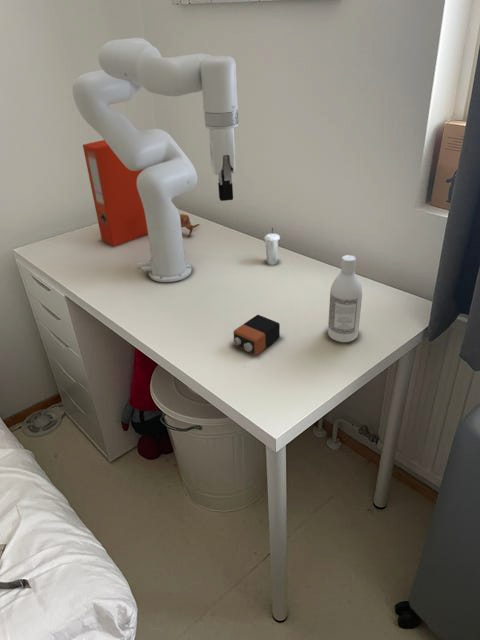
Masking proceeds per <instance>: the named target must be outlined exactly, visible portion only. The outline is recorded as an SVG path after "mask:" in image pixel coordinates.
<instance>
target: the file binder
mask: <svg viewBox="0 0 480 640" xmlns="http://www.w3.org/2000/svg"><path fill="white" fill-rule="evenodd" d="M82 148H83V153H84V159H85V163H86V168H87V174H88V178H89V183H90V188H91V193H92V198H93V203H94V209H95V214H96V218H97V224H98V227H99V228H98V229H99V233H100V238H101V241H102V242H104V243H106V244H108V245H110V246H112V247H117V246H118V245H122V244H124V243H127V242H131V241H132V240H135V239H138V238H142V237H144V236H147V235H148V230H147V224H146V217H145V212H144V208H143V204H142V201H141V198H140V195H139V192H138V189H137V177H138V175H139V174H140V173H141V172H142V171H143V170H144V169H143V170H139V171H131V170H129V169H128V168H127V167H126V166H125V165H124V164H123V163H122V162H121V161H120V159H119V158H118V157H117V156H116V154H115V153H114V152H113V150H112V149H111V148H110V147H109V145H108V144H107V143H106V141H105V140H104V139H102V140H97V141H93V142H88V143H83V144H82Z"/></svg>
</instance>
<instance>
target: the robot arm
mask: <svg viewBox="0 0 480 640" xmlns="http://www.w3.org/2000/svg"><path fill="white" fill-rule="evenodd" d="M97 58H98V64H99V67H100V68H101V69H100V70H99V69H98V70H93V71H89V72H85V73H83V74H81V75H79V76H78V77H77V78H76V79H75V80H74V81H73V83H72V96H73V100H74V103H75V106H76V109H77V110H78V112H79V114H80V116H81V117H82V118H83V120H84V121H85V122H86V123H87V124H88V125H89V126H90V127H91V128H92V129H93V130H94V131H95V132H96V133H98V134H99V136H100V137H101V138H102V140H105V141H106V143H107V144H108V145H109V147H110V148H111V149H112V150H113V152H114V153H115V154H116V156H117V157H118V158H119V159H120V161H121V162H122V163H123V164H124V165H125V166H126V167H127V168H128V169H129V170H131V171H139V170H143V169H144V170H143V171H142V172H141V173H140V174H139V175H138V177H137V189H138V192H139V195H140V198H141V201H142V204H143V208H144V212H145V217H146V224H147V230H148V234H147V235H148V242H149V243H148V244H149V248H150V254H151V256H150V259H148V260H147V261H138V262H137V263H136V265H137V269H138V270H141V272H147V271H148V277H149V278H150V279H151V280H153V281H155V282H159V283H173V282H179V281H182V280H184V279H186V278H188V277H189V276H190V275H191V274H192V266H191V264H190V263H188V262H187V261H186V257H185V248H184V247H185V246H184V238H183V229H182V228H183V227H182V228H181V220H180V214H181V213H180V212H179V210H178V208H177V207H176V206H175V204H174V202H173V200H172V199H175V198H176V197H179V196H180V195H183V194H186V193H188V192H190V191H192V190H193V189H194V188H195V187H196V186H197V183H198V173H197V170H196V168H195V166H194V164H193V163H192V161H191V160H190V159H189V157H188V156H187V155H186V153H185V152H184V151H183V150H182V149H181V148H180V146H179V145H178V144H177V142H176V141H175V140H174V138H172V136H171V135H170V134H169V133H168V132H167V131H165V130H163V129H161V128H148V129H145V130H138V129H137V128H136V127H134V125H133V124H132V123H131V121H130V119H128V118H127V117H126V116H125V114H122V113H121V112H120V111H117V110H116V109H114V108H113V107H110V105H115V104H119V103H125V102H128V101H131V100H133V99H135V97H136V96H137V95H138V94H139V93H140V91H141V90H142V88H144V89H145V91H147V92H149V93H151V94H156V95H161V96H165V97H180V96H185V95H189V94H194V93H199V92H202V104H203V105H202V106H203V114H204V115H203V120H204V127H205V129H208V130H209V135H208V136H209V152H210V153H209V154H210V166H211V170H212V172H213V174H214V175H215V176H218V177H217V178H218V182H217V186H218V199H219V201H220V202H227V201H233V200H234V187H233V179H232V178H233V175H232V174H234V173H236V145H235V143H236V142H235V128H237V127H239V124H240V123H239V103H238V79H237V63H236V60H235V58H234V57H233V56H230V55H211V54H207V53H193V54H185V55H177V56H171V57H162V54H161V52H160V50H158V48H157V47H156V46H154V45H152V44H151V43H150V42H149V41H148V40H146V39H145V38H142V37H130V38H121V39H119V38H118V39H112V40H109V41H107V42H106V43H104V44H103V45H102V46H101V48H100V49H99V52H98V57H97Z"/></svg>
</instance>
